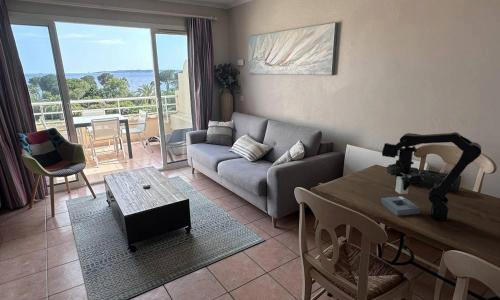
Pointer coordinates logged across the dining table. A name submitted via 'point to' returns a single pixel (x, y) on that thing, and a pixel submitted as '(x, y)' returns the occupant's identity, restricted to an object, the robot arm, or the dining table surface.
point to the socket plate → (405, 209)
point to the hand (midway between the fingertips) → (401, 188)
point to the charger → (400, 185)
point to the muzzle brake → (435, 179)
